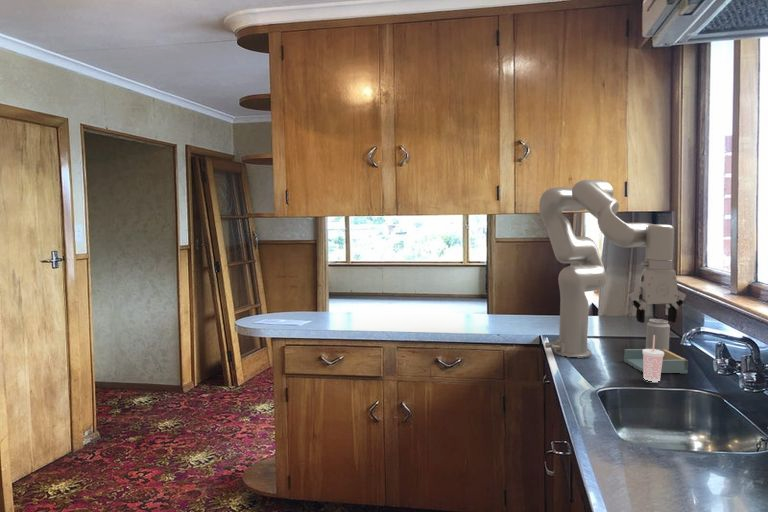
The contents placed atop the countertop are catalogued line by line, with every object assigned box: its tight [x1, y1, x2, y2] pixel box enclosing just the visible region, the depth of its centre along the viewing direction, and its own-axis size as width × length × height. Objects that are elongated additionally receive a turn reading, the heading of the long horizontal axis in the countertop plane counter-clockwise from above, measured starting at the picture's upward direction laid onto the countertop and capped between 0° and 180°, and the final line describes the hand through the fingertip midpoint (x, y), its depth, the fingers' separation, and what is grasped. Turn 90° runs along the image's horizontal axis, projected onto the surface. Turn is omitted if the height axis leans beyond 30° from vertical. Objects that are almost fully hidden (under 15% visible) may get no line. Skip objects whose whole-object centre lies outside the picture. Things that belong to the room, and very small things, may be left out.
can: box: [645, 318, 671, 351], centre depth 210 cm, size 8×8×12 cm
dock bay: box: [623, 348, 689, 374], centre depth 193 cm, size 14×14×4 cm
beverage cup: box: [642, 335, 664, 383], centre depth 179 cm, size 6×6×14 cm
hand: (656, 321), depth 177 cm, fingers open, 9 cm apart
